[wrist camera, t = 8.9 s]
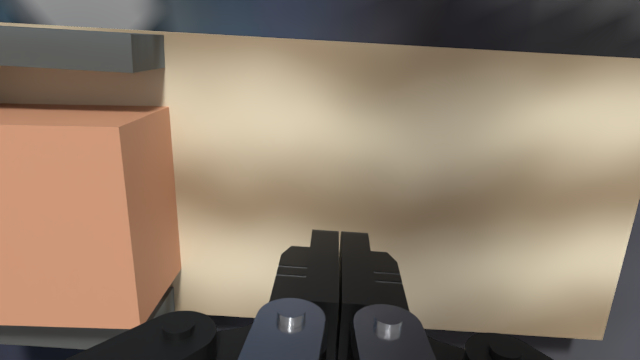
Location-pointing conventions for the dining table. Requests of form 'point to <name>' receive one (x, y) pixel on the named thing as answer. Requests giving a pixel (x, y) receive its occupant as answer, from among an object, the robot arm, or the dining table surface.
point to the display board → (369, 166)
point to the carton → (85, 214)
